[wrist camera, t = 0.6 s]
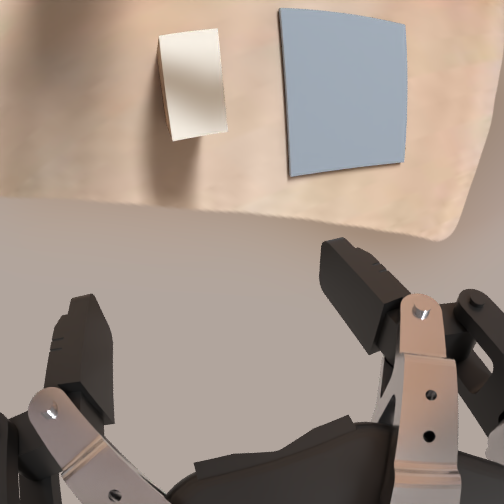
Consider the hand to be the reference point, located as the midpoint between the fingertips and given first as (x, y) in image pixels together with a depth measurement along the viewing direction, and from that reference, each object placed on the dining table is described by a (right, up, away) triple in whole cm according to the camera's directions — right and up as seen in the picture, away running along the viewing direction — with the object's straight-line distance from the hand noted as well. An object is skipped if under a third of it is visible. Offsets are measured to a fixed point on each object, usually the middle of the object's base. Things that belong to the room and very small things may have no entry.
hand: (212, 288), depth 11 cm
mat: (+12, +19, +20) cm, 30 cm away
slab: (-5, +16, +15) cm, 23 cm away
